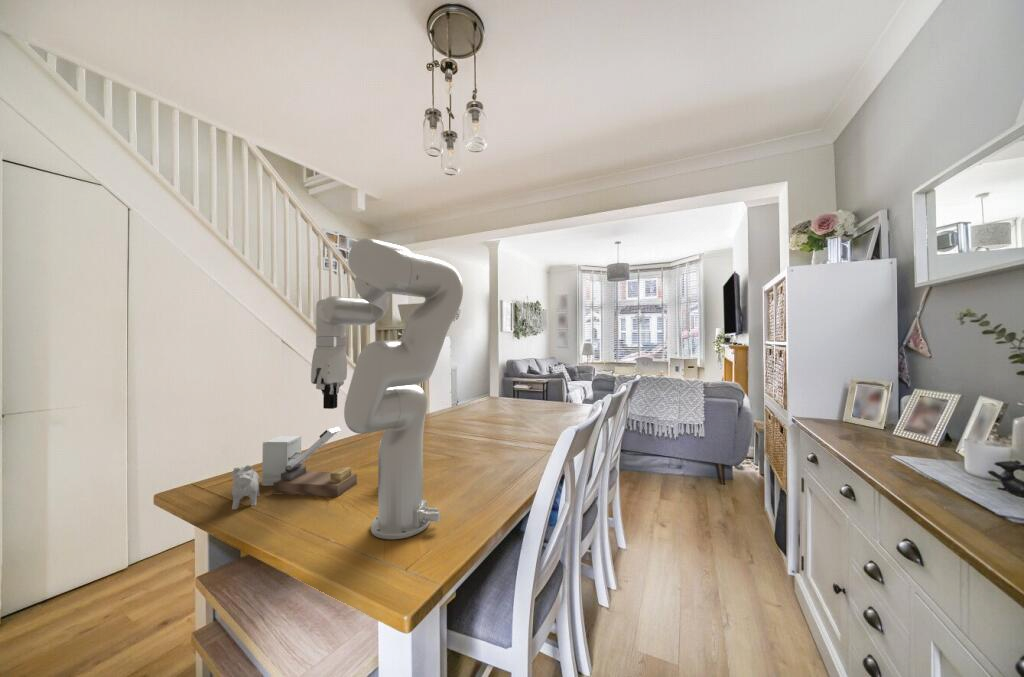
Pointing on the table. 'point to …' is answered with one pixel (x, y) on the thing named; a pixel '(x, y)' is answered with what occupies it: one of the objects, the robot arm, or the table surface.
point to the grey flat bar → (313, 448)
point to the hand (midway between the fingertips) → (330, 408)
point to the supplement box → (279, 457)
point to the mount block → (315, 482)
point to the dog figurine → (245, 485)
